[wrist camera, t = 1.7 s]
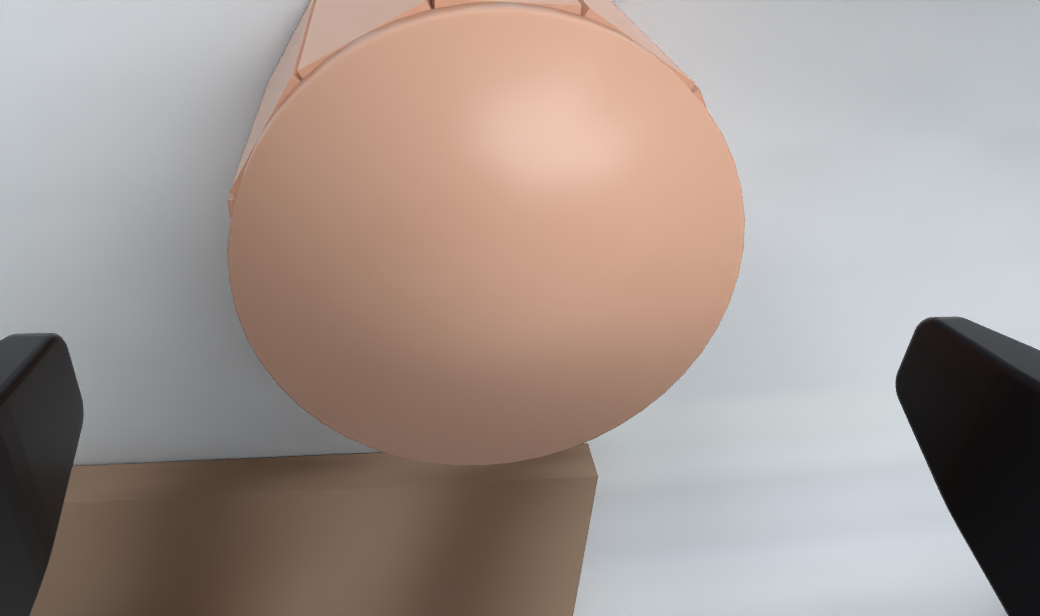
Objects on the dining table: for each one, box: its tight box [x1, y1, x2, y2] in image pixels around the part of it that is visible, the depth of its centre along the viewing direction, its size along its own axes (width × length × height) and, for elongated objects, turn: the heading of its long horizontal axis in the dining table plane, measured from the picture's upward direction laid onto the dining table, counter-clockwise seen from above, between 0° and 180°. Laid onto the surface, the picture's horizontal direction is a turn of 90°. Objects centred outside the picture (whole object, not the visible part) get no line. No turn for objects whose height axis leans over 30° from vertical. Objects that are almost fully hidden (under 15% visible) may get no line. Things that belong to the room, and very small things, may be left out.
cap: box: [228, 0, 745, 465], centre depth 12 cm, size 6×6×4 cm
